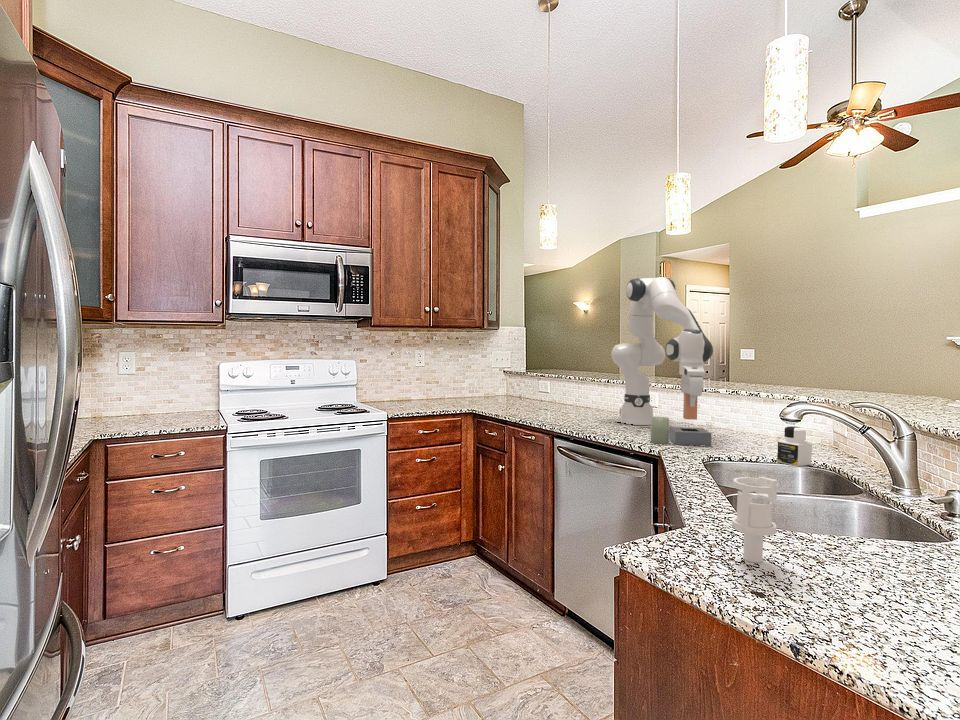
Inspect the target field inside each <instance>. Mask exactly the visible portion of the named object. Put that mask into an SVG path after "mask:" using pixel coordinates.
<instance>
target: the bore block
mask: <svg viewBox="0 0 960 720" xmlns="http://www.w3.org/2000/svg"><path fill="white" fill-rule="evenodd" d="M669 439H670V440H671V441H670V440H669V441H670V442H672V443H673V444H674V445H675V446H688V445H705V446H704V447H712V432H710V431H708V430H707V429H705V428H703V427H685V426H684V427H682V426H681V427H680V426H678V427H677V426H669Z"/></svg>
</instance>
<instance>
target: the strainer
mask: <svg viewBox="0 0 960 720" xmlns="http://www.w3.org/2000/svg"><path fill="white" fill-rule="evenodd" d="M732 481H733V482H732V487H733V488H735V489H737V490H738V491H737V501H736V516H733V518H731V527H732V528H733V529H734V530H737V531H739V532H740V533H743V556H742V558H743V559H744V560H745V561H747V562H749V563H756V564H760V563H762V562H763V561H764V559H763V556H764V553H763V551H764V536H774V535H775V534H777V530H778V529H777V524H776V523H775V522H773V502H774V501H775V502H776V501H777V499H778V498H777V497H778V496H777V495H778V492H779V484H778V479H773V478H768V477H767V476H759V477H744V476H743V477H742V476H741V477H734V478H733V479H732ZM754 492H755V494H757V495H756V496H757V497H753V493H754ZM771 501H772V502H771Z"/></svg>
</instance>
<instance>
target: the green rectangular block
mask: <svg viewBox="0 0 960 720" xmlns="http://www.w3.org/2000/svg"><path fill="white" fill-rule="evenodd" d="M669 427H670V418H669V417H667V416H653V417H651V425H650V444H651V443H654V444H653V445H655V444H662V445H661V446H665V445H664V444H668V445H669V441H670V440H669Z"/></svg>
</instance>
